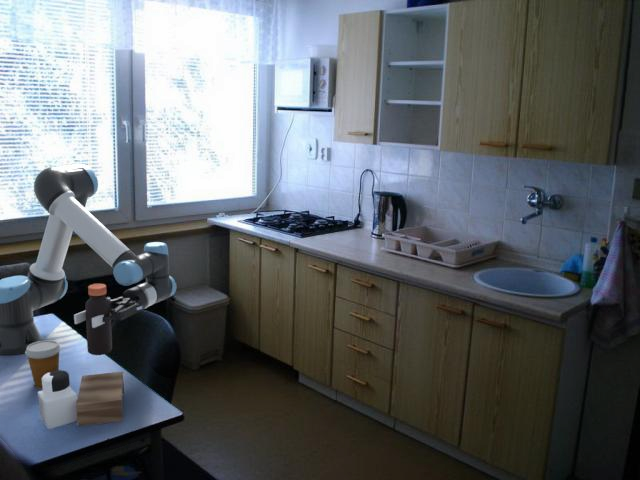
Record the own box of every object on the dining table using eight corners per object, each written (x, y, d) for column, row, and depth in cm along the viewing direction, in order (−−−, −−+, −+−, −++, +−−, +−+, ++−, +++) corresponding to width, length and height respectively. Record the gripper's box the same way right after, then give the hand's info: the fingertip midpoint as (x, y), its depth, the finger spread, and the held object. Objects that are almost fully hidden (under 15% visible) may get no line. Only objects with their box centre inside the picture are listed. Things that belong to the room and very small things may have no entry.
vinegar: (115, 352, 182) (113, 287, 177) (92, 357, 178) (89, 291, 173) (107, 344, 187) (105, 281, 182) (84, 349, 183) (81, 284, 178)
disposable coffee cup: (50, 392, 178) (47, 353, 176) (21, 389, 180) (17, 350, 178) (70, 378, 188) (67, 340, 185) (42, 375, 189) (38, 338, 187)
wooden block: (83, 395, 177) (82, 375, 175) (124, 390, 180) (122, 371, 178) (78, 426, 160) (76, 405, 159) (122, 420, 163) (121, 399, 162)
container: (69, 409, 169) (65, 365, 166) (79, 420, 163) (75, 374, 160) (39, 418, 164) (35, 372, 161) (48, 430, 158) (43, 383, 155)
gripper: (163, 313, 193) (110, 339, 172) (115, 304, 200) (60, 328, 180) (162, 290, 191) (109, 313, 171) (114, 282, 199) (58, 303, 178)
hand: (84, 321), depth 175 cm, fingers closed on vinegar, 6 cm apart
